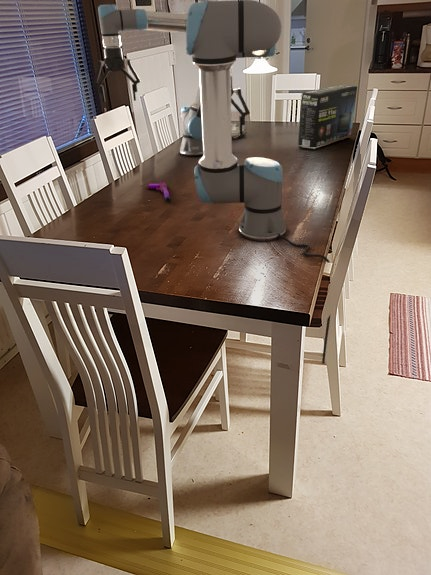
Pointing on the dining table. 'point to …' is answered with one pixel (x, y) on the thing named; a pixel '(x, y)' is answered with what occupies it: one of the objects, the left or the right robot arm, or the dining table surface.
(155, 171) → the dining table surface
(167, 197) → the handgun
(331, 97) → the router box
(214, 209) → the dining table surface
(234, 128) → the fossil
